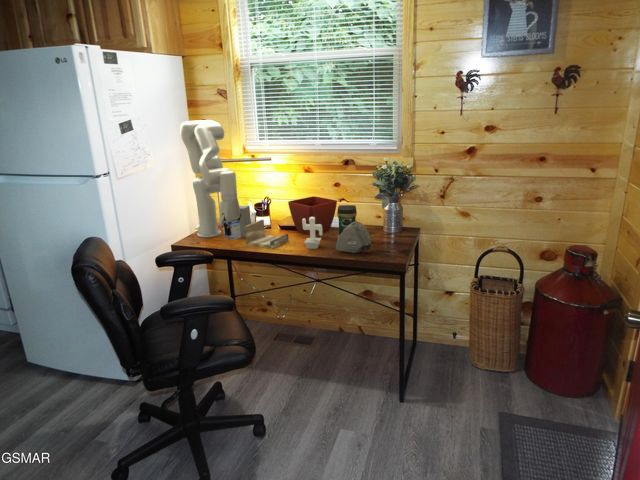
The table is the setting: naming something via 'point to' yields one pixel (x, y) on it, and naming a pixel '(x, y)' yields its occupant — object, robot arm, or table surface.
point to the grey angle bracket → (262, 236)
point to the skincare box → (244, 219)
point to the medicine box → (233, 230)
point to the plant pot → (313, 212)
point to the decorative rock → (354, 238)
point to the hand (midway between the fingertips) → (231, 233)
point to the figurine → (312, 233)
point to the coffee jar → (346, 216)
